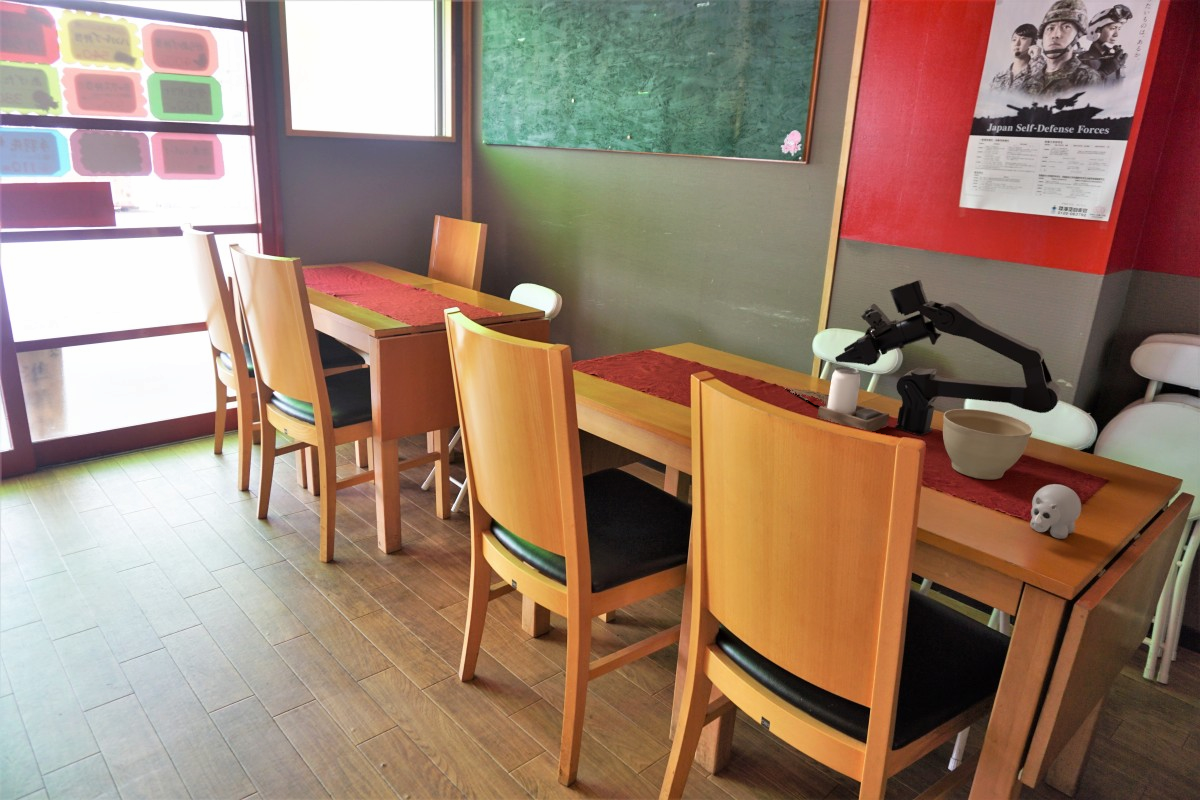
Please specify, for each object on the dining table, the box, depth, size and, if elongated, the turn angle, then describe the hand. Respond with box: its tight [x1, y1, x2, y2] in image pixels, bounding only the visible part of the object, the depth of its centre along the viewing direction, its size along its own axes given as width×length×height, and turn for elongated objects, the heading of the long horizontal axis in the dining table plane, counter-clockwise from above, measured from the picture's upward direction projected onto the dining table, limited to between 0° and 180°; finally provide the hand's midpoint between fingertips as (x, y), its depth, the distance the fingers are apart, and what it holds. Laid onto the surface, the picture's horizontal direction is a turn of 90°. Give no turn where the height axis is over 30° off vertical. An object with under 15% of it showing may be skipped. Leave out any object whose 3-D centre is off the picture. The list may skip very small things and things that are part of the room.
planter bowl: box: [942, 408, 1033, 480], centre depth 158 cm, size 16×16×11 cm
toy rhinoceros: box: [1029, 483, 1082, 540], centre depth 132 cm, size 7×12×8 cm, turn 130°
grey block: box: [856, 408, 879, 420], centre depth 182 cm, size 4×7×4 cm, turn 133°
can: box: [827, 366, 861, 414], centre depth 185 cm, size 6×6×12 cm
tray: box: [816, 404, 890, 432], centre depth 184 cm, size 12×10×3 cm
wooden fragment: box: [784, 387, 829, 408], centre depth 199 cm, size 26×11×1 cm, turn 31°
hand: (840, 355), depth 187 cm, fingers open, 9 cm apart
